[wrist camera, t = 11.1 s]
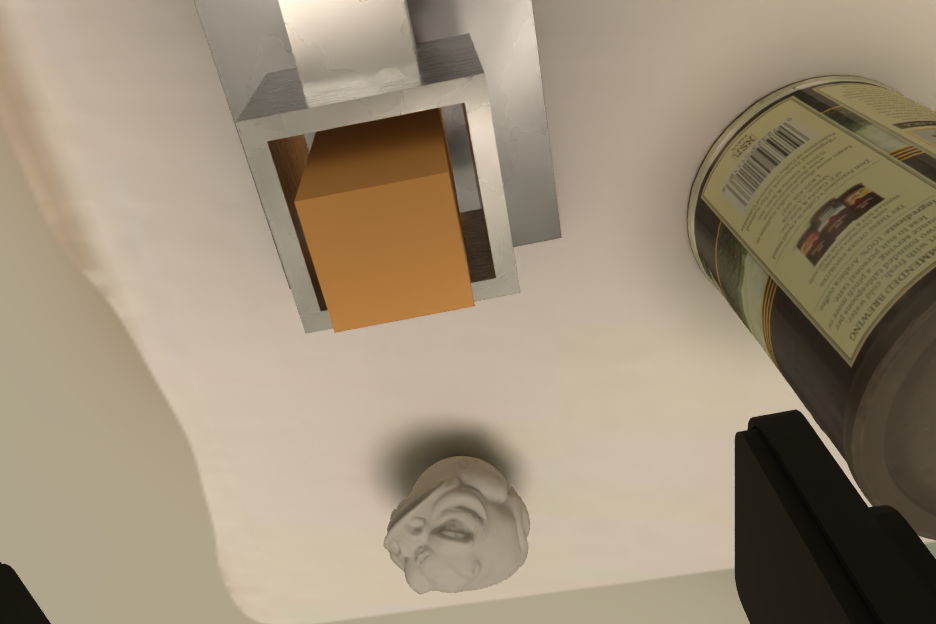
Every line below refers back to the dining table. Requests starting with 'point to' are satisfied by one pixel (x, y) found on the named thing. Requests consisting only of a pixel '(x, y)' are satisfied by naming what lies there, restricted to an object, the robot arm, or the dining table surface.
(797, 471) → the robot arm
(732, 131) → the coffee can
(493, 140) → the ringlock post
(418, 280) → the orange rectangular block
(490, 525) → the plaster head sculpture
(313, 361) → the dining table surface
